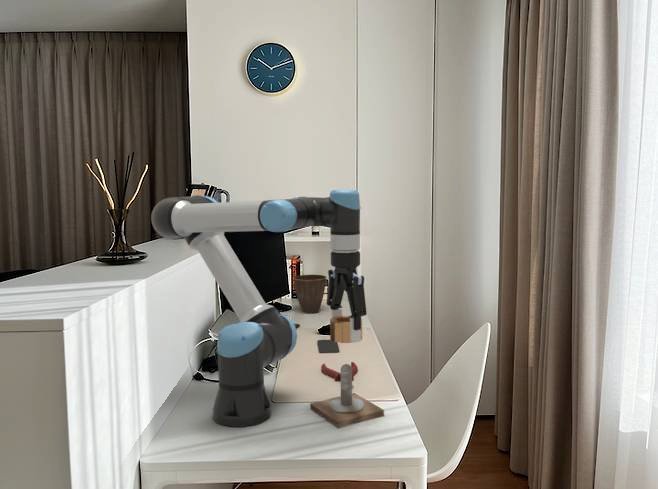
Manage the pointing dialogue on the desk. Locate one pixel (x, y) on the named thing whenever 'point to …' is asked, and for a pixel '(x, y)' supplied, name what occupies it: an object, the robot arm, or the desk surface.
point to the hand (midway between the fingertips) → (346, 337)
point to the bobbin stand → (346, 404)
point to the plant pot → (310, 292)
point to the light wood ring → (341, 329)
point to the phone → (327, 346)
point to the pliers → (337, 374)
